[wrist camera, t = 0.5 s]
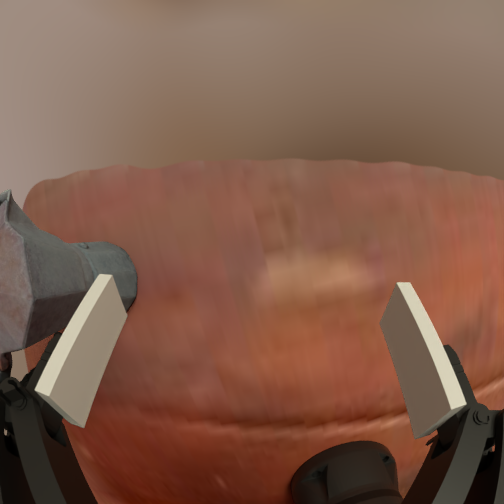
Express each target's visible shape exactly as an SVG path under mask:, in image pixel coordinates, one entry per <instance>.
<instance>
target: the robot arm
mask: <svg viewBox="0 0 504 504" xmlns="http://www.w3.org/2000/svg"><path fill="white" fill-rule="evenodd" d="M126 318H127V313H126V311H125V308H124V306H123V303H122V300H121V298H120V295H119V292H118V289H117V287H116V284H115V281H114V278H113V275H107V274H99V275H98V277H97V278H96V280H95V281H94V283H93V284H92V286H91V287H90V289H89V291H88V292H87V294H86V295H85V297H84V299H83V300H82V302H81V303H80V305H79V307H78V308H77V310H76V312H75V313H74V315H73V317H72V318H71V320H70V322H69V324H68V325H67V327H66V329H65V331H64V332H63V334H62V335H61V334H57V335H56V336H54V337H53V338H52V339H51V340H50V341H49V343H48V345H47V347H46V349H45V350H44V353H43V354H42V356H41V358H40V359H41V360H39V362H38V364H37V366H36V368H35V370H34V372H33V374H32V376H31V378H30V380H29V382H28V384H27V386H26V388H25V387H24V386H23V385H22V384H21V383H20V382H19V381H18V380H17V379H16V378H13V377H9V378H6V379H5V380H3V381H2V383H1V384H0V504H98V503H97V501H96V499H95V497H94V495H93V493H92V491H91V489H90V487H89V485H88V483H87V481H86V479H85V477H84V475H83V472H82V470H81V468H80V466H79V463H78V461H77V459H76V456H75V454H74V451H73V449H72V446H71V443H70V441H69V438H68V435H67V432H66V429H65V426H64V424H63V423H62V419H63V417H64V418H65V419H66V420H67V421H68V422H69V423H71V424H74V425H77V426H79V427H82V428H84V427H85V424H86V421H87V418H88V415H89V412H90V409H91V406H92V403H93V400H94V397H95V395H96V392H97V389H98V386H99V384H100V381H101V379H102V376H103V373H104V371H105V368H106V366H107V363H108V361H109V358H110V356H111V353H112V351H113V348H114V346H115V344H116V341H117V339H118V337H119V334H120V332H121V330H122V327H123V325H124V323H125V321H126ZM380 326H381V329H382V332H383V334H384V337H385V340H386V343H387V346H388V349H389V352H390V354H391V357H392V361H393V364H394V367H395V370H396V373H397V376H398V379H399V383H400V386H401V389H402V393H403V396H404V400H405V403H406V407H407V411H408V414H409V418H410V422H411V426H412V430H413V434H414V439H417V438H421V437H424V436H427V435H430V434H431V433H432V432H434V431H435V430H436V429H437V431H438V434H437V435H436V436H434V437H433V438H432V439H430V440H429V441H428V442H427V443H426V445H427V446H428V445H429V444H431V443H432V442H433V443H432V445H431V446H430V447H431V448H430V450H429V452H428V454H427V457H426V459H425V461H424V463H423V465H422V467H421V469H420V471H419V473H418V475H417V477H416V479H415V480H414V482H413V484H412V486H411V488H410V489H409V491H408V493H407V495H406V496H405V498H404V500H403V498H402V496H401V495H400V493H399V491H398V478H397V467H396V462H395V459H394V457H393V456H392V454H391V453H390V451H389V450H388V448H387V447H385V446H384V445H382V444H380V443H377V442H373V441H355V442H349V443H345V444H341V445H338V446H335V447H332V448H330V449H327V450H325V451H323V452H321V453H319V454H317V455H316V456H314V457H312V458H311V459H310V460H308V461H307V462H306V463H304V464H303V465H302V466H301V467H300V468H299V469H298V470H297V472H296V473H295V475H294V477H293V479H292V482H291V490H292V497H293V500H294V502H295V504H504V409H503V410H488V408H487V407H486V406H485V405H483V404H480V403H477V401H476V399H475V396H474V394H473V391H472V389H471V386H470V384H469V381H468V379H467V376H466V374H465V373H464V369H463V367H462V365H460V360H459V358H458V356H457V354H456V352H455V351H454V350H453V349H452V348H451V347H450V346H449V345H444V346H443V345H442V343H441V341H440V339H439V337H438V335H437V333H436V331H435V329H434V327H433V324H432V323H431V321H430V319H429V317H428V315H427V313H426V311H425V309H424V307H423V305H422V303H421V301H420V300H419V298H418V296H417V294H416V292H415V291H414V289H413V287H412V285H411V283H410V282H401V283H396V285H395V288H394V290H393V293H392V295H391V298H390V300H389V303H388V305H387V307H386V310H385V312H384V314H383V317H382V319H381V321H380ZM4 429H5V430H7V435H4ZM494 445H495V451H492V446H494Z"/></svg>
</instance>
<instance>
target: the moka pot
mask: <svg viewBox="0 0 504 504" xmlns="http://www.w3.org/2000/svg"><path fill="white" fill-rule="evenodd" d="M99 274H107V275H113V278H114V281H115V284H116V287H117V289H118V292H119V295H120V298H121V300H122V303H123V306H124V308H125V311H127V310H128V308H129V307H130V305H131V304H132V302H133V301H134V299H135V297H136V292H137V274H136V270H135V267H134V264H133V263H132V261H131V259H130V257H129V255H128V254H127V253H126V251H125V250H123V249H122V248H120V247H118V246H116V245H114V244H111V243H108V242H87V243H85V242H82V243H72V244H69V243H65V242H63V241H62V240H61V239H59V238H58V237H56V236H54V235H52V234H49V233H47V232H45V231H42V230H40V229H39V228H38V227H36V225H35V224H34V223H33V222H32V221H31V220H30V219H29V218H28V217H27V215H26V214H25V213H24V212H23V211H22V210H21V209H20V207H19V206H18V205H17V204H16V202H15V201H14V200H13V198H12V194H11V190H6V191H4V192H3V193H1V194H0V384H1V383H2V381H3V380H5V379H6V378H9V377H10V374H11V368H12V355H11V352H14V351H19V350H22V349H25V348H27V347H29V346H31V345H33V344H35V343H37V342H39V341H41V340H43V339H45V338H46V337H48V336H50V335H52V334H53V333H55V334H54V336H56V335H57V334H61V335H62V333H59V332H57V331H59V330H61V329H63V328H65V327H67V325H68V324H69V322H70V320H71V318H72V317H73V315H74V313H75V312H76V310H77V308H78V307H79V305H80V303H81V302H82V300H83V299H84V297H85V295H86V294H87V292H88V291H89V289H90V287H91V286H92V284H93V283H94V281H95V280H96V278H97V277H98V275H99ZM36 366H37V365H36ZM35 368H36V367H35ZM35 368H33V369H32V370H30V372H29V373H28V374H26V375H25V377H24V378H23V380H22V381H20V383H21V384H22V385H23V386H24V387H25V388H26V386H27V384H28V382H29V380H30V378H31V376H32V374H33V372H34V370H35Z"/></svg>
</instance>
